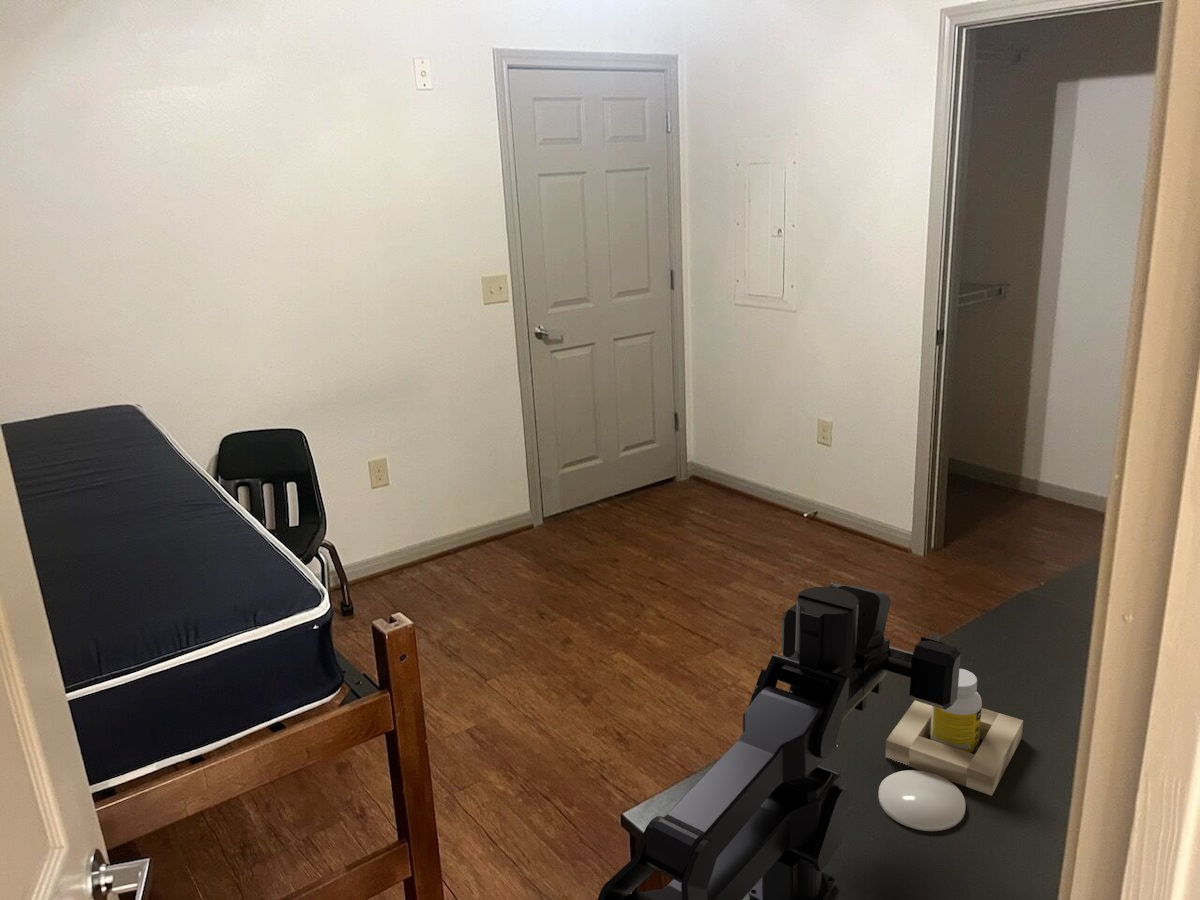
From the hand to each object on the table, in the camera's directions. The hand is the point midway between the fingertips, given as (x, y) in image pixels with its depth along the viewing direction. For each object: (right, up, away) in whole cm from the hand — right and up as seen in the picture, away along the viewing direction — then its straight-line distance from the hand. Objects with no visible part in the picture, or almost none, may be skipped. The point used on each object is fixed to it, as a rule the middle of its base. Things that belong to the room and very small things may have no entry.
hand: (896, 625), depth 102 cm
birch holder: (+9, -16, +5) cm, 19 cm away
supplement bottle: (+9, -16, +5) cm, 19 cm away
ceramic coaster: (+2, -19, -3) cm, 19 cm away
